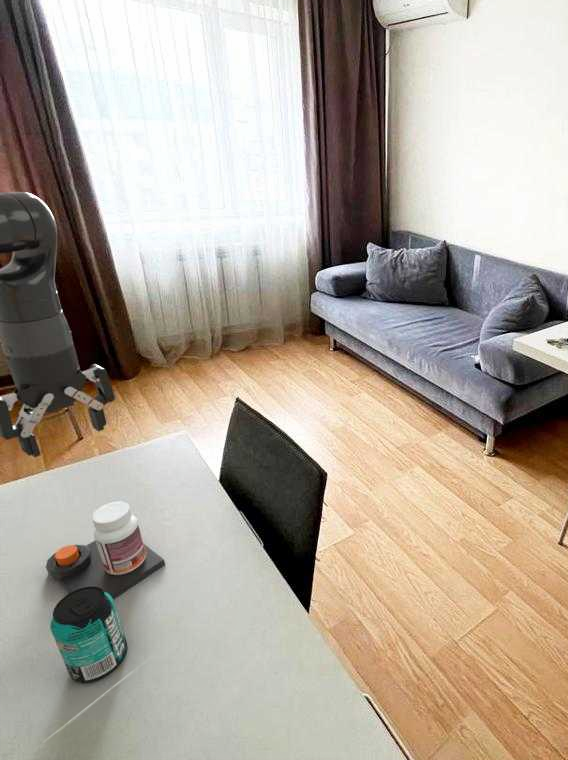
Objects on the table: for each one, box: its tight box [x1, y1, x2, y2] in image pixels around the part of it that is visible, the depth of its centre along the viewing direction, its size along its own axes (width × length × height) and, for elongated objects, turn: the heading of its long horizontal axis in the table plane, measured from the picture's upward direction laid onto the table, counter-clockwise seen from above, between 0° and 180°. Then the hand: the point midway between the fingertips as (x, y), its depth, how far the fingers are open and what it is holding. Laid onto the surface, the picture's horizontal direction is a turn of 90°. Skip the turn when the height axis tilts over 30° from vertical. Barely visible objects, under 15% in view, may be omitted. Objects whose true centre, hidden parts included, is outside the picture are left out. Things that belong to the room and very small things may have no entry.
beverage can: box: [49, 586, 129, 684], centre depth 69 cm, size 7×7×12 cm
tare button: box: [55, 544, 79, 566], centre depth 83 cm, size 3×3×2 cm
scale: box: [45, 540, 166, 601], centre depth 85 cm, size 14×12×3 cm
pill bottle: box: [91, 501, 146, 575], centre depth 83 cm, size 6×6×11 cm
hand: (68, 441), depth 75 cm, fingers open, 8 cm apart
